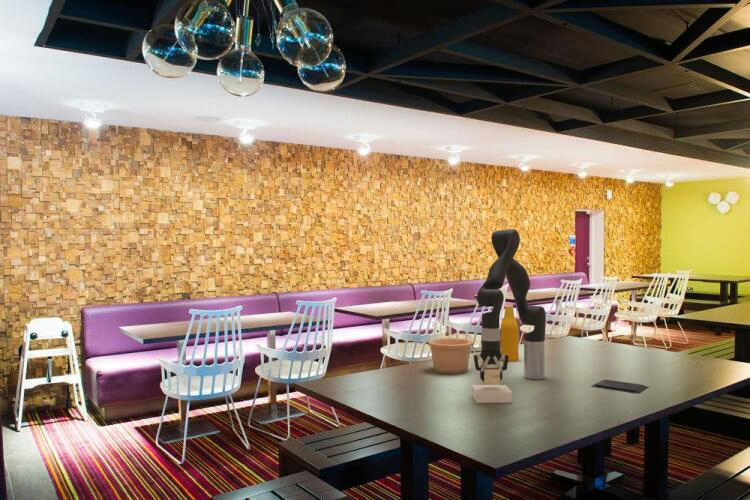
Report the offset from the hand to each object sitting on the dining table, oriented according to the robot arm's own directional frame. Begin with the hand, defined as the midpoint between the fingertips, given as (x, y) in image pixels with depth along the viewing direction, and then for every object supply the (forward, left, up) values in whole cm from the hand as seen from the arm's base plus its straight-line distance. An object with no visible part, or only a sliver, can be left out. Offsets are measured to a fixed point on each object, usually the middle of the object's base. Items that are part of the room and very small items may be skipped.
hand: (491, 380), depth 227 cm
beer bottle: (-77, +23, -7) cm, 81 cm away
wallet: (-18, +58, -8) cm, 61 cm away
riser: (0, 0, -7) cm, 7 cm away
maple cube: (0, 0, -1) cm, 1 cm away
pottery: (-52, -11, -8) cm, 54 cm away
